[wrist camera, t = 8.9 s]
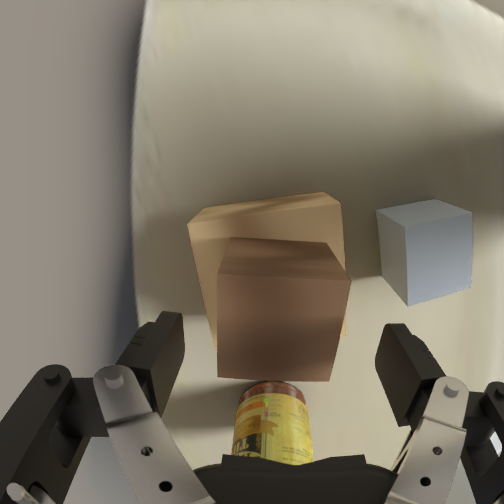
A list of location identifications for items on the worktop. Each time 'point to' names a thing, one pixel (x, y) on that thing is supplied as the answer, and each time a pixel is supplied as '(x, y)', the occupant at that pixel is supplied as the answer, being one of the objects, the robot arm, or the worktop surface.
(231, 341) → the walnut cube
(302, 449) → the sauce bottle
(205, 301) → the oak block
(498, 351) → the worktop surface
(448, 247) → the slate-blue cube
